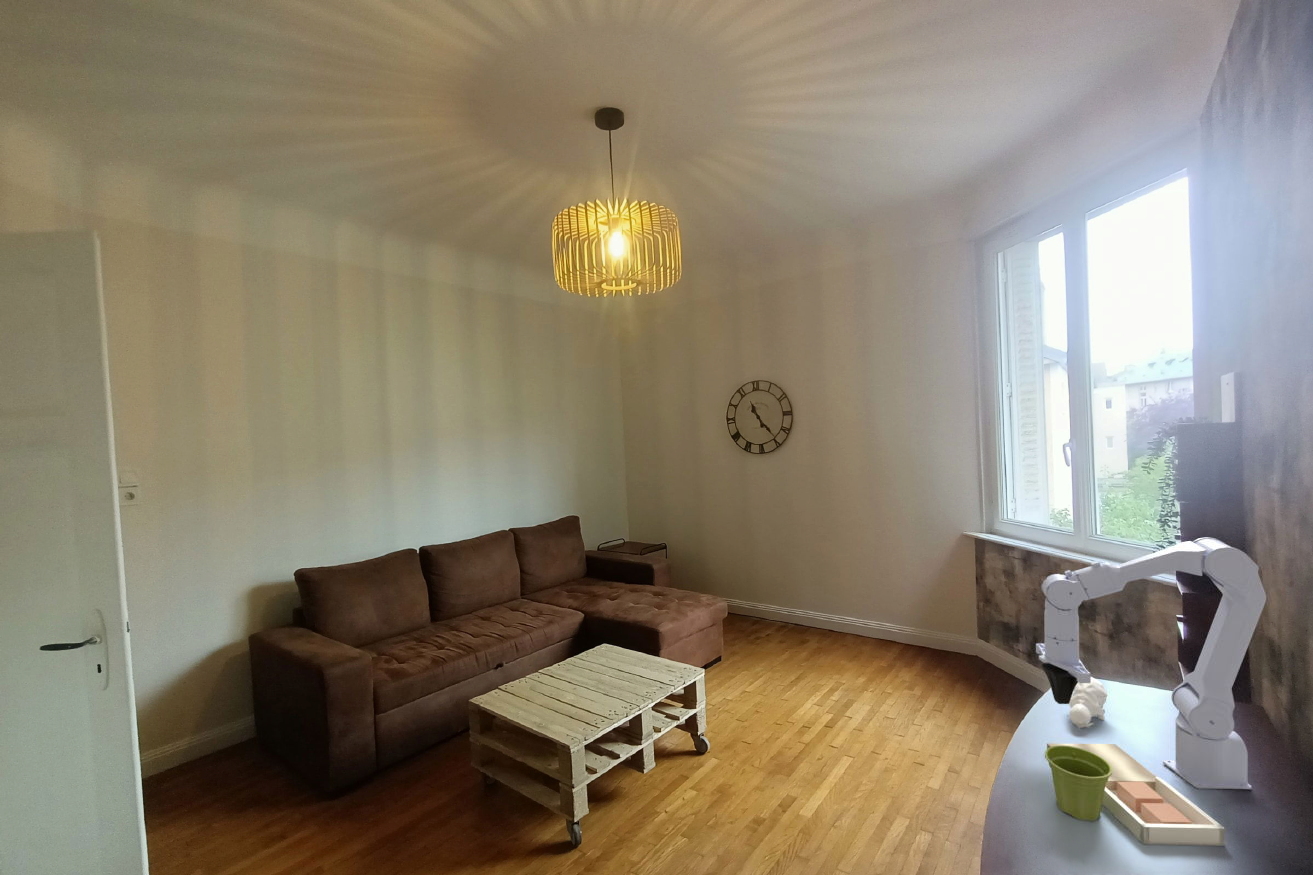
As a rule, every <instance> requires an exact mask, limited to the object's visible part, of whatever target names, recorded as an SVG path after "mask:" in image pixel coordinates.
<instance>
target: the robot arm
mask: <svg viewBox="0 0 1313 875" xmlns="http://www.w3.org/2000/svg"><path fill="white" fill-rule="evenodd" d="M1090 565H1091V566H1087V567H1084V568H1081V569H1077V570H1073V571H1071V570H1070V569H1068V570H1065V571H1064V574H1060V573H1053V574H1050V575H1048V576H1047V577H1046V579H1044V580H1043V582H1042V584H1041V585H1040V587H1041V591H1042V592H1043V594H1044V596H1045V598H1044V599H1045V602H1044V608H1045V609H1044V612H1043V613H1044V614H1043V615H1044V618H1043V619H1044V626H1043V627H1044V628H1043V629H1044V643H1036V644H1035V653H1036V654H1038V660H1040V661H1041V662H1042V663H1041V668H1042V669H1043V671H1044V673H1045V675H1046V677H1047V679H1048V683H1049V684H1050V689H1051V693H1052V695H1053V699H1054V702H1055V703H1057V704H1059V705H1069V702H1070V699H1071V696H1072V695H1073V692H1074V688H1075V686H1076V685H1077V683H1078V682H1079V683H1091V677H1092V675H1091V674H1092V673H1091V672H1089V671H1088V670H1087V669H1086V668H1085V665H1084V664H1083V662H1082V661H1081V659H1080V617H1079V607H1080V605H1082V602H1084V601H1089V600H1094V599H1096V598H1100V597H1104V596H1107V595H1111V594H1115V593H1118V592H1122V591H1123V590H1124V588H1125V586H1126V585H1127V583H1129V582H1133V581H1137V580H1141V579H1145V578H1151V577H1154V576H1158V575H1163V574H1167V573H1171V572H1182V573H1187V574H1190V575H1195V576H1199V577H1202V576H1203V574H1205V575H1206V576H1207V577H1208V578H1209V579H1211V581H1212V583H1213V584H1214V585H1215V586H1216V587H1217V589H1218V591H1220V592H1221V593H1222V597H1221V599H1220V602H1219V605H1218V608H1217V610H1216V613H1215V615H1214V618H1213V620H1212V623H1211V625H1210V628H1209V631H1208V632H1207V637H1206V638H1205V642H1204V644H1203V647H1202V649H1201V652H1200V655H1199V657H1198V660H1197V663H1196V665H1195V668H1194V671H1192V672H1190V673H1188V674H1186V675H1185V676H1184V679H1183V681H1182V682H1181V683H1180V684H1179V685H1178V686H1176V687H1175V688H1174V689H1173V690H1172V692H1171V701H1172V704H1173V705H1174V707H1175V708H1176V709H1177V711H1178V715H1177V717H1176V718H1175V760H1173V759H1172V760H1168V759H1167V760H1162V763H1163V764H1164V765H1165V766H1166V767H1168V768H1169V769H1171V771H1173V772H1174V773H1175V774H1177V775H1178V776H1180V777H1181V778H1182V779H1183V780H1184V781H1186V782H1188V783H1189V784H1190V785H1191V786H1193V787H1195V788H1196V789H1217V790H1218V789H1220V790H1222V789H1223V790H1224V789H1225V790H1227V789H1228V790H1229V789H1230V790H1231V789H1232V790H1252V785H1251V784H1249V782H1248V759H1249V758H1248V755H1249V754H1248V749H1247V746H1246V744H1245V741H1244V740H1243V739H1242V737H1241V736H1240V735H1239V733H1237V732H1236V731H1235V730H1234V729H1235V720H1234V717H1233V713H1234V709H1235V706H1236V704H1235V699H1234V694H1233V690H1232V688H1233V686H1234V683H1235V681H1236V678H1237V676H1238V673H1239V670H1240V668H1241V666H1242V663H1243V660H1244V658H1245V656H1246V652H1247V650H1248V648H1249V645H1250V643H1251V640H1252V637H1253V635H1254V632H1255V629H1256V628H1257V625H1258V622H1259V620H1260V618H1261V614H1262V612H1263V610H1264V607H1265V604H1266V603H1267V602H1266V601H1267V594H1266V591H1265V589H1264V586H1263V583H1262V581H1261V578H1260V575H1259V570H1260V568H1259V565H1257V563H1256V562H1255V561H1253V560H1252V558H1251V557H1250V556H1249V555H1247V554H1246V553H1245V552H1244V551H1242V550H1241V549H1238V548H1236V547H1232V546H1230V545H1229V544H1226V543H1225V542H1223V541H1222V540H1219V539H1217V538H1215V537H1210V536H1209V537H1200V538H1196V539H1195V540H1192V541H1191V540H1189V541H1187V540H1186V541H1182V542H1180V543H1177V544H1175V545H1172V546H1170V547H1167V548H1164V549H1161V550H1157V551H1156V552H1153V553H1149V554H1147V555H1144V556H1140V557H1137V558H1135V559H1132V560H1129V561H1126V562H1123V563H1120V564H1117V565H1116V564H1113V563H1109V562H1107V561H1104V562H1099V560H1095V561H1091V562H1090Z"/></svg>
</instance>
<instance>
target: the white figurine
mask: <svg viewBox="0 0 1313 875" xmlns="http://www.w3.org/2000/svg"><path fill="white" fill-rule="evenodd" d="M1107 696H1108V691H1107V690H1106V689H1105V687H1104V685H1103V683H1102V682H1101V681H1100V680H1098V679H1096V678H1095V677H1093V676H1091V683H1079V682H1078V683H1077V685H1076V686H1075V688H1074V691H1073V693H1072V696H1071V699H1070V702H1069V704H1068V705H1069V707H1070V709H1069V715H1067V714H1066V715H1067V717H1068V718H1069V720H1070V722H1071V723H1073V724H1074V725H1075V726H1077V728H1079V729H1082V728H1090V729H1091V728H1092V727H1091V726H1093V725H1094V724H1095V722H1094V723H1093V722H1091V720H1092V717H1093V718H1094V717H1096V718H1097V719H1099V720H1101V721H1105V719H1106V718H1105V714H1106V710H1105V708H1103V707H1104V705H1105V703H1106V702H1107Z"/></svg>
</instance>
